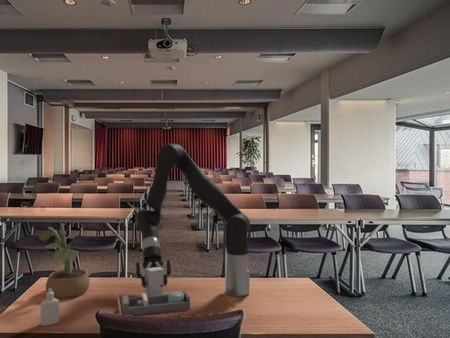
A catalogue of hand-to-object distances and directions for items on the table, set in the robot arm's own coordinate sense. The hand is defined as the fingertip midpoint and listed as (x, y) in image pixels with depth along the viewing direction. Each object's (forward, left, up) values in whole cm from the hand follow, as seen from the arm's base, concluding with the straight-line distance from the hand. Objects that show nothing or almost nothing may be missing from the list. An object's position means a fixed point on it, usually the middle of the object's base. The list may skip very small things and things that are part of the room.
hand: (155, 286), depth 153 cm
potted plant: (+35, -15, -6) cm, 38 cm away
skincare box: (0, -1, -6) cm, 6 cm away
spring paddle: (+6, +10, -4) cm, 12 cm away
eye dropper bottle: (+37, +12, -6) cm, 39 cm away
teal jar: (-7, +10, -5) cm, 12 cm away
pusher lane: (+1, +10, -6) cm, 11 cm away
